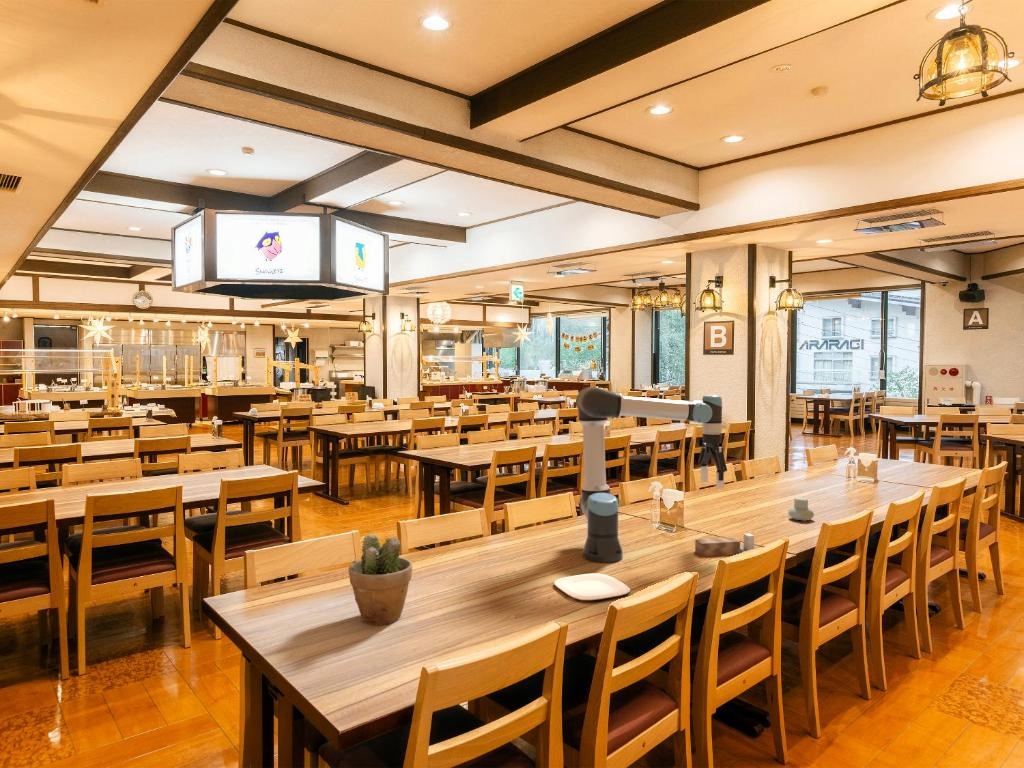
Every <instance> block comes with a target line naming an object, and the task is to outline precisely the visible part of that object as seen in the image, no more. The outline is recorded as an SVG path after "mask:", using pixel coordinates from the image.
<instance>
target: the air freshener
mask: <svg viewBox="0 0 1024 768" xmlns="http://www.w3.org/2000/svg"><path fill="white" fill-rule="evenodd" d="M793 500H794V501H793V502H794V504H793V506H791V508H789V509H788V516H789V517H790V518H791V519H793V520H796V521H798V520H801V521H800V522H808V521H810V520H812V519H813V518H814V511H813V510H812V509H811V508H809V500H808V498H805V497H794V499H793ZM807 520H808V521H807Z"/></svg>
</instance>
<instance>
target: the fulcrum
mask: <svg viewBox="0 0 1024 768" xmlns="http://www.w3.org/2000/svg"><path fill="white" fill-rule="evenodd" d="M753 548H757V547H756V546H755V535H753V534H751V533H743V545H740V553H742V552H743V551H747V550H750V549H753Z"/></svg>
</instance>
